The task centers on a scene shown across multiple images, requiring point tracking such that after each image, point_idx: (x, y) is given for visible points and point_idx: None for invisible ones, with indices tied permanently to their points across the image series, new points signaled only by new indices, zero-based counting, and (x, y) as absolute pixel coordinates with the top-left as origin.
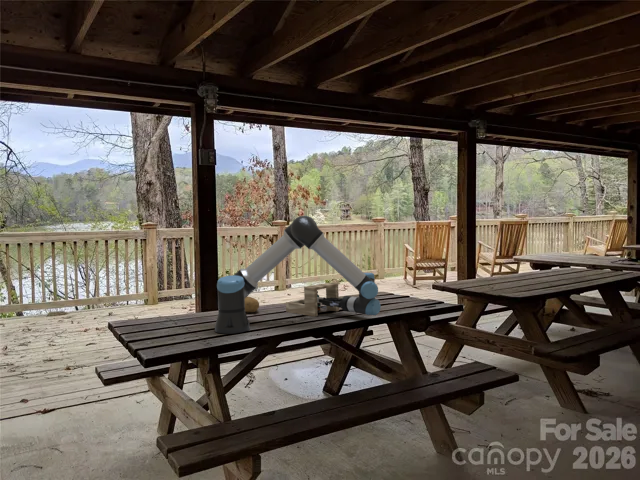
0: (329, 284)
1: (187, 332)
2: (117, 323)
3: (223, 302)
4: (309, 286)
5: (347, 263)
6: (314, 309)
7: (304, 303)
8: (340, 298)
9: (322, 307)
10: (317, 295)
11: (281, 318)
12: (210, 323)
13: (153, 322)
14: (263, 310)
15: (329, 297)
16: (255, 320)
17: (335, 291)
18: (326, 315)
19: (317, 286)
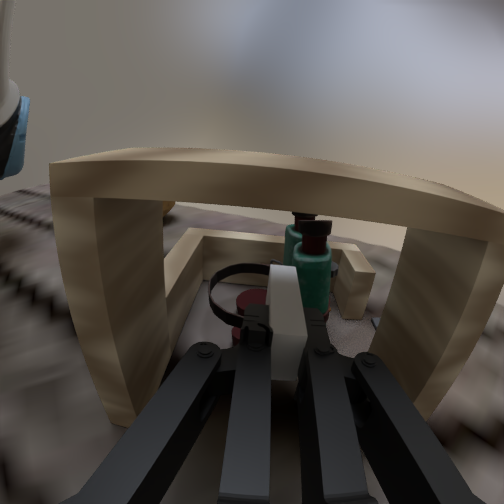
0: (422, 186)
1: None
2: (38, 185)
3: None
4: (169, 148)
5: None
6: (94, 383)
7: (264, 268)
8: (434, 474)
9: (375, 325)
10: (313, 256)
11: (48, 300)
12: (11, 224)
13: (37, 194)
14: (182, 230)
15: (402, 313)
16: (24, 260)
17: (464, 299)
18: (198, 482)
19: (195, 155)
